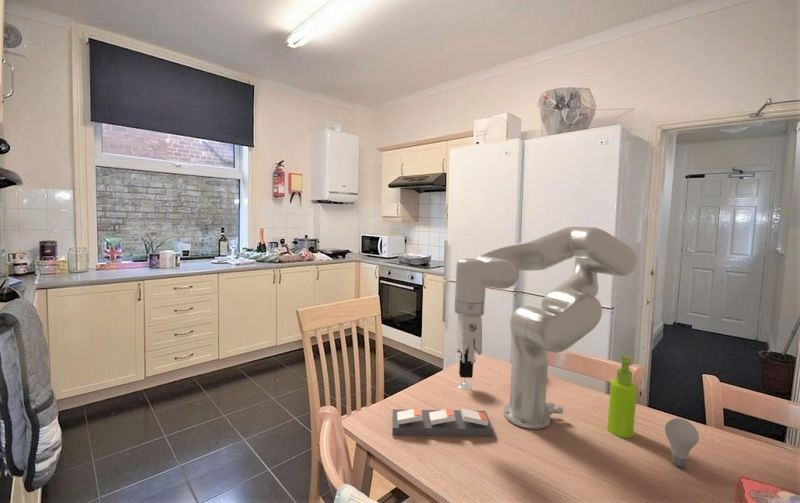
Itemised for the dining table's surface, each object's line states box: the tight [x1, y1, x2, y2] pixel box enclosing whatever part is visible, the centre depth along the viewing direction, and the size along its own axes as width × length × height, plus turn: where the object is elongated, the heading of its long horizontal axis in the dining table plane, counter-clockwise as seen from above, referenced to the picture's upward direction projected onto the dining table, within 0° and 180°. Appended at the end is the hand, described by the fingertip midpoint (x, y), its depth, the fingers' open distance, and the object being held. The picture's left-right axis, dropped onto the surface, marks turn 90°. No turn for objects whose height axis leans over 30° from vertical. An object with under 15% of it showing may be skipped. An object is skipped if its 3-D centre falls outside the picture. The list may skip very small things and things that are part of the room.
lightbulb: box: [664, 417, 700, 468], centre depth 84 cm, size 6×6×11 cm
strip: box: [391, 408, 494, 437], centre depth 98 cm, size 26×9×3 cm, turn 91°
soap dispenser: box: [607, 354, 638, 439], centre depth 97 cm, size 6×7×20 cm
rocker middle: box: [429, 407, 455, 425], centre depth 96 cm, size 6×4×1 cm, turn 90°
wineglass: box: [455, 347, 477, 390], centre depth 122 cm, size 7×7×12 cm
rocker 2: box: [461, 407, 488, 426], centre depth 97 cm, size 6×4×1 cm, turn 91°
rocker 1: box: [397, 407, 423, 425], centre depth 96 cm, size 6×4×1 cm, turn 90°
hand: (465, 376), depth 95 cm, fingers closed
